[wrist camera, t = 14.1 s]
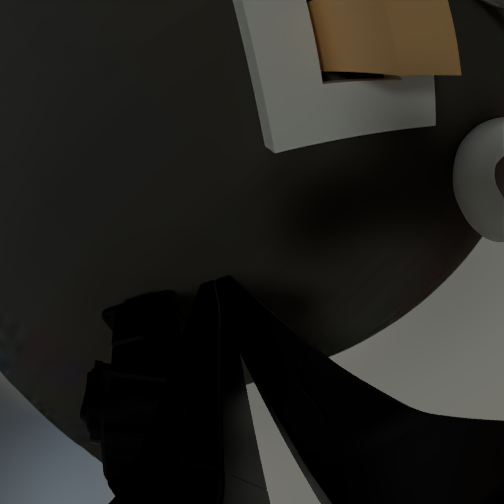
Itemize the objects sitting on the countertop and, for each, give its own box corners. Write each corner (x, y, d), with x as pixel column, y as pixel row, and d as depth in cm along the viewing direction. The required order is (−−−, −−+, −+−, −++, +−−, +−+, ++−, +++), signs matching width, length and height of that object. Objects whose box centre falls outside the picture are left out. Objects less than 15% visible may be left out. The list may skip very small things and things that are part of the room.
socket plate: (419, 120, 19) (440, 127, 17) (265, 146, 18) (278, 155, 16) (396, -30, 11) (418, -34, 9) (221, -44, 10) (228, -60, 8)
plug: (375, 65, 16) (461, 75, 10) (318, 71, 16) (399, 75, 9) (351, -28, 11) (429, -52, 5) (289, -30, 11) (355, -74, 5)
